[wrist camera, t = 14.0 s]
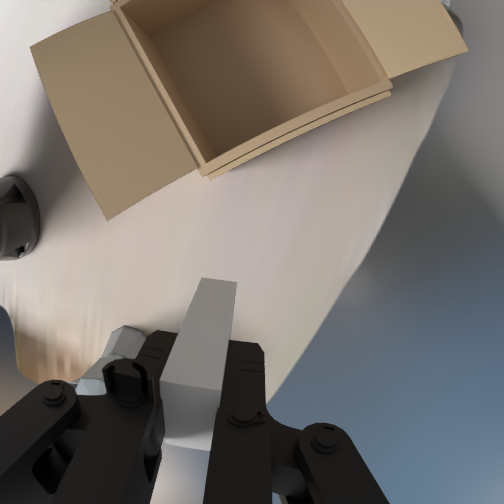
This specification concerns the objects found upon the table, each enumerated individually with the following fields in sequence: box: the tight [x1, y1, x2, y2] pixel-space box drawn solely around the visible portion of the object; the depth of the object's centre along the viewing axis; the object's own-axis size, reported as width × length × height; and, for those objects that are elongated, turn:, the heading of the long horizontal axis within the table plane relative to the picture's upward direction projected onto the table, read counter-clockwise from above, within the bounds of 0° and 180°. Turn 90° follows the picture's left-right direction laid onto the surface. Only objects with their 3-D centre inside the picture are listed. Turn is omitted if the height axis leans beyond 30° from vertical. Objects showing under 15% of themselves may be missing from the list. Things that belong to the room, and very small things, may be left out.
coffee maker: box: [67, 326, 147, 395], centre depth 41 cm, size 15×9×18 cm, turn 76°
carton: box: [30, 0, 469, 221], centre depth 28 cm, size 25×40×17 cm, turn 118°
